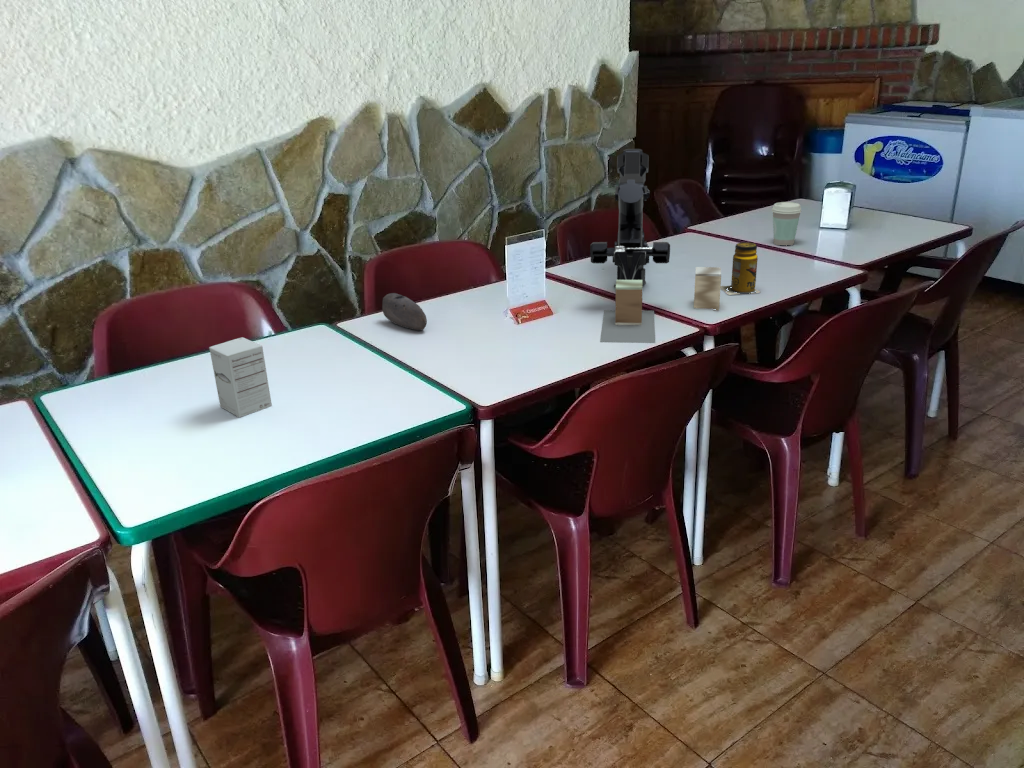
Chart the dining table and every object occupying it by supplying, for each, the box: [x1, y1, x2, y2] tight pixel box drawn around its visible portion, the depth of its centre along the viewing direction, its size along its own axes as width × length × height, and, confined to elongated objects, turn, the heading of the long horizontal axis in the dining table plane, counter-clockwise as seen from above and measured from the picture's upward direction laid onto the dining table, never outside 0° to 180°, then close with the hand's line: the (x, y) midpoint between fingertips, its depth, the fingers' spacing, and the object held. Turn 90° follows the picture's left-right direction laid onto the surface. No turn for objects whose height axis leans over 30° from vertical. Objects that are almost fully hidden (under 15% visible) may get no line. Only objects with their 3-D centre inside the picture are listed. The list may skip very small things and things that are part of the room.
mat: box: [599, 309, 656, 344], centre depth 196 cm, size 22×12×1 cm, turn 172°
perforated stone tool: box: [382, 292, 428, 331], centre depth 202 cm, size 15×5×7 cm, turn 40°
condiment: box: [720, 241, 761, 296], centre depth 217 cm, size 7×8×12 cm
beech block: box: [693, 266, 722, 311], centre depth 206 cm, size 6×6×9 cm
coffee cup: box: [771, 201, 802, 247], centre depth 257 cm, size 8×8×12 cm
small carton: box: [615, 279, 643, 325], centre depth 198 cm, size 6×6×9 cm
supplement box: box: [208, 336, 273, 418], centre depth 161 cm, size 7×7×13 cm
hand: (629, 284), depth 200 cm, fingers closed
